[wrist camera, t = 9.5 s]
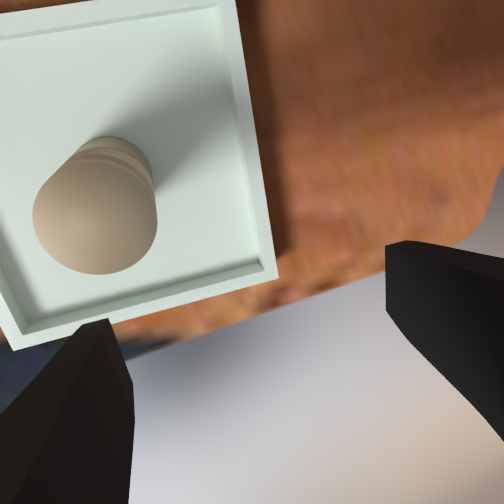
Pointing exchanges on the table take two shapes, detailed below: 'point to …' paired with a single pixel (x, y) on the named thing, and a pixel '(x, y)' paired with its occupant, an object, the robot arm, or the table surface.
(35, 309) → the sage tray
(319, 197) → the table surface
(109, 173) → the birch pin
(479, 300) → the robot arm
